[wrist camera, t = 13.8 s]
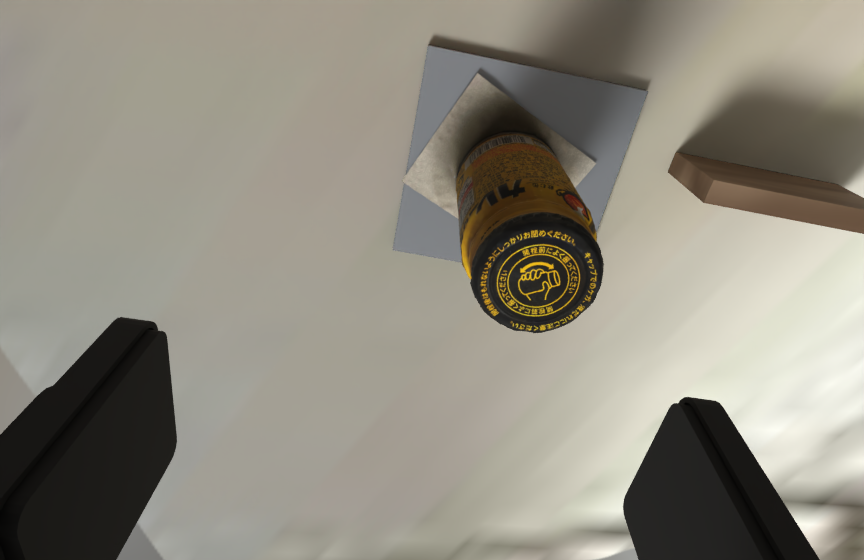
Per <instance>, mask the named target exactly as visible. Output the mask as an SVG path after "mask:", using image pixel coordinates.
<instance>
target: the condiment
mask: <svg viewBox="0 0 864 560" xmlns="http://www.w3.org/2000/svg"><path fill="white" fill-rule="evenodd" d="M595 164H596V163H595V162H594V161H593V160H591V159H590V158H589V157H587V156H586V155H585V154H583V153H582V152H581V151H579V150H578V149H577V148H576V147H574V146H573V145H572V144H570V143H569V142H568V141H566V140H565V139H564V138H563V137H561V136H560V135H559V134H557V133H556V132H555V131H553V130H552V129H551V128H549V127H548V126H547V125H545V124H544V123H543V122H541V121H540V120H539V119H538V118H536V117H535V116H533V115H532V114H531V113H529V112H528V111H527V110H525V109H524V108H523V107H522V106H520V105H519V104H518V103H516V102H515V101H514V100H512V99H511V98H510V97H509V96H507V95H506V94H504V93H503V92H502V91H500V90H499V89H498V88H496V87H495V86H494V85H492V84H491V83H490V82H488V81H487V80H486V79H485V78H483V77H482V76H481V75H479V74H478V73H477V74H476V76H475V77H474V79H473V80H472V81H471V83H470V84H469V86H468V87H467V88H466V90H465V91H464V93H463V94H462V95H461V97H460V98H459V100H458V101H457V102H456V104H455V105H454V107H453V108H452V110H451V111H450V112H449V114H448V115H447V117H446V118H445V120H444V121H443V122H442V124H441V125H440V127H439V128H438V130H437V131H436V132H435V134H434V135H433V136H432V138H431V139H430V141H429V142H428V144H427V145H426V147H425V148H424V150H423V151H422V153H421V154H420V155H419V157H418V158H417V160H416V161H415V162H414V164H413V165H412V167H411V168H410V170H409V171H408V173H407V174H406V176H405V177H404V178H403V180H402V182H403V183H405V184H406V185H408V186H409V187H411V188H412V189H414V190H415V191H417V192H418V193H420V194H422V195H423V196H425V197H426V198H427V199H428V200H430V201H432V202H433V203H435V204H437V205H438V206H439V207H441V208H442V209H444V210H445V211H447V212H449V213H450V214H451V215H453V216H455V217H456V218H458V220H459V236H460V248H461V257H462V259H461V261H462V265H463V267H464V268H465V270H466V272H467V275H468V277H469V278H470V279H471V282H470V284H471V287H472V290H473V293H474V296H475V298H476V299H477V301H478V303H479V304H480V307H482V309H483V311H484V312H485V313H486V314H487V315H489V316H490V317H491V318H492V319H494V320H496V321H497V322H498V323H500V324H502V325H504V326H506V327H507V328H510V329H512V330H516V331H528V332H533V333H542V332H546V331H550V330H554V329H556V328H559V327H562V326H564V325H566V324H568V323H570V322H572V321H573V320H574V319H576V318H577V317H578V316H579V315H580V314H581V313H582V312H583V311H585V310H586V309H587V308H588V307H589V306H590V305H591V304H592V303H593V302H594V300H595V298H596V295H597V293H598V291H599V289H600V286H601V283H602V276H603V265H604V264H603V258H602V255H601V250H600V248H599V245H598V244H597V242H596V240H597V235H596V229H595V224H594V222H593V219H592V216H591V212H590V210H589V209H588V208H587V207H586V205H585V204H584V202H583V200H582V198H581V197H580V195H579V194H578V192H577V190H576V189H575V187H576V186H577V185H578V184H579V183H580V182H581V181H582V179H583V178H584V177H585V176H586V175H587V174H588V173H589V172H590V170H591V169H592V168H593V167H594V166H595ZM454 176H455V178H454Z"/></svg>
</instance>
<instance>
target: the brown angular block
mask: <svg viewBox="0 0 864 560" xmlns="http://www.w3.org/2000/svg"><path fill="white" fill-rule="evenodd" d="M668 173H670V174H671V175H672V176H673V177H674V178H675V179H677V180H678V181H679V182H680V183H681V184H682V185H684V186H685V187H686V188H687V189H688V190H689V191H691V192H692V193H693V194H694V195H695V196H696V197H698V198H699V199H700V200H701V201H702V202H703V203H708V204H713V205H718V206H723V207H729V208H734V209H739V210H744V211H749V212H754V213H759V214H765V215H770V216H775V217H780V218H785V219H790V220H795V221H801V222H806V223H811V224H816V225H821V226H826V227H831V228H837V229H842V230H847V231H852V232H857V233H862V234H864V198H863V197H861V196H859V195H857V194H855V193H853V192H851V191H849V190H847V189H845V188H843V187H841V186H839V185H837V184H832V183H828V182H823V181H818V180H813V179H808V178H803V177H798V176H793V175H788V174H783V173H778V172H773V171H768V170H763V169H758V168H753V167H748V166H743V165H738V164H733V163H728V162H723V161H718V160H713V159H708V158H703V157H698V156H693V155H688V154H683V153H678V152H676V153H675V156H674V158H673V161H672V163H671V166H670V168H669V170H668Z"/></svg>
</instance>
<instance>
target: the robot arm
mask: <svg viewBox="0 0 864 560" xmlns="http://www.w3.org/2000/svg"><path fill="white" fill-rule="evenodd" d="M176 443H177V435H176V425H175V415H174V405H173V394H172V384H171V374H170V363H169V353H168V343H167V336H166V334H165V332H163V331H158V328H157V325H156V324H155V323H154V322H151V321H144V320H137V319H130V318H123V317H120V318H117V319H116V320H115V321H113V322H112V323H111V325H110V326H109V327H108V328H107V329H106V330H105V331H104V332H103V333H102V334H101V335H100V336H99V337H98V338H97V339H96V341H95V342H94V343H93V344H92V345H91V346H90V347H89V348H88V349H87V350H86V351H85V352H84V353H83V354H82V356H81V357H80V358H79V359H78V360H77V361H76V362H75V363H74V364H73V365H72V366H71V367H70V368H69V369H68V370H67V372H66V373H65V374H64V375H63V376H62V377H61V378H60V379H59V380H58V381H57V382H56V383H55V384H54V385H53V386H51V387H48V388H46V389H45V390H44V391H42V392H41V393H40V394H39V395H38V396H37V397H36V398H35V399H34V400H33V401H32V402H31V403H30V404H29V405H28V406H27V407H26V408H25V409H24V411H23V412H22V413H21V414H20V415H19V416H18V417H17V418H16V419H15V420H14V421H13V422H12V423H11V424H10V425H9V426H8V427H7V428H6V430H4V432H3V433H2V434H1V435H0V560H116V559H117V557H118V555H119V554H120V552H121V550H122V548H123V546H124V545H125V543H126V541H127V539H128V537H129V536H130V534H131V532H132V530H133V528H134V527H135V525H136V523H137V521H138V519H139V518H140V516H141V514H142V512H143V510H144V509H145V507H146V505H147V503H148V501H149V500H150V498H151V496H152V494H153V492H154V491H155V489H156V487H157V485H158V483H159V482H160V480H161V478H162V476H163V474H164V473H165V471H166V469H167V467H168V465H169V464H170V462H171V460H172V458H173V455H174V452H175V449H176ZM623 510H624V516H625V519H626V523H627V526H628V529H629V532H630V535H631V538H632V541H633V544H634V547H635V550H636V553H637V556H638V559H639V560H820V559H819V558H818V556H817V555H816V553H815V552H814V550H813V548H812V547H811V545H810V544H809V542H808V541H807V539H806V537H805V536H804V534H803V533H802V531H801V530H800V528H799V526H798V525H797V523H796V522H795V520H794V518H793V517H792V515H791V514H790V512H789V511H788V509H787V507H786V506H785V504H784V503H783V501H782V500H781V498H780V496H779V495H778V493H777V492H776V490H775V488H774V487H773V485H772V484H771V482H770V481H769V479H768V477H767V476H766V474H765V473H764V471H763V470H762V468H761V466H760V465H759V463H758V462H757V460H756V459H755V457H754V455H753V454H752V452H751V451H750V449H749V447H748V446H747V444H746V443H745V441H744V440H743V438H742V436H741V435H740V433H739V432H738V430H737V429H736V427H735V425H734V424H733V422H732V421H731V419H730V418H729V416H728V414H727V413H726V411H725V410H724V408H723V407H722V405H721V404H720V403H718V402H716V401H712V400H705V399H698V398H691V397H684V398H683V399H681V400H680V402H679V403H675V404H673V405H671V407H670V408H669V410H668V412H667V414H666V416H665V418H664V420H663V422H662V424H661V426H660V428H659V430H658V432H657V434H656V436H655V438H654V440H653V442H652V444H651V446H650V448H649V450H648V452H647V454H646V456H645V458H644V460H643V462H642V464H641V466H640V468H639V470H638V472H637V474H636V476H635V478H634V479H633V481H632V483H631V485H630V487H629V489H628V491H627V493H626V495H625V498H624V504H623Z"/></svg>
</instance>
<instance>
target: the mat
mask: <svg viewBox="0 0 864 560" xmlns="http://www.w3.org/2000/svg"><path fill="white" fill-rule="evenodd" d="M477 73H478V74H479V75H481V76H482V77H483V78H485V79H486V80H487V81H488V82H490V83H491V84H492V85H494V86H495V87H496V88H498V89H499V90H500V91H502V92H503V93H504V94H506V95H507V96H509V97H510V98H511V99H512V100H514V101H515V102H516V103H518V104H519V105H520V106H522V107H523V108H524V109H525V110H527V111H528V112H529V113H531V114H532V115H533V116H535V117H536V118H538V119H539V120H540V121H541V122H543V123H544V124H545V125H547V126H548V127H549V128H551V129H552V130H553V131H555V132H556V133H557V134H559V135H560V136H561V137H563V138H564V139H565V140H566V141H568V142H569V143H570V144H572V145H573V146H574V147H576V148H577V149H578V150H579V151H581V152H582V153H583V154H585V155H586V156H587V157H589V158H590V159H591V160H593V161H594V162H595V163H596V164H595V166H594V167H593V168H592V169H591V170H590V172H589V173H588V174H587V175H586V176H585V177H584V178H583V179H582V181H581V182H580V183H579V184H578V185H577V186H576V187H575V189H576V190H577V192H578V194H579V195H580V197H581V198H582V200H583V202H584V204H585V205H586V207H587V208H588V209H589V210H590V212H591V216H592V219H593V222H594V224H595V229H596V232H597V229H598V227H599V224H600V221H601V218H602V216H603V213H604V210H605V208H606V205H607V202H608V199H609V197H610V194H611V191H612V188H613V186H614V183H615V180H616V178H617V175H618V172H619V169H620V167H621V164H622V161H623V158H624V156H625V153H626V150H627V148H628V145H629V142H630V139H631V137H632V134H633V131H634V128H635V126H636V123H637V120H638V118H639V115H640V112H641V109H642V107H643V104H644V101H645V98H646V96H647V93H648V91H646V90H643V89H639V88H634V87H629V86H624V85H619V84H615V83H610V82H605V81H600V80H595V79H591V78H586V77H581V76H576V75H571V74H567V73H562V72H557V71H552V70H548V69H543V68H538V67H533V66H528V65H524V64H519V63H514V62H509V61H504V60H500V59H495V58H490V57H485V56H480V55H476V54H471V53H466V52H461V51H457V50H452V49H447V48H442V47H437V46H433V45H428V49H427V55H426V60H425V66H424V72H423V78H422V83H421V89H420V95H419V101H418V107H417V112H416V118H415V124H414V130H413V135H412V141H411V147H410V153H409V158H408V164H407V170H406V174H407V173H408V171H409V170H410V168H411V167H412V165H413V164H414V162H415V161H416V160H417V158H418V157H419V155H420V154H421V153H422V151H423V150H424V148H425V147H426V145H427V144H428V142H429V141H430V139H431V138H432V136H433V135H434V134H435V132H436V131H437V130H438V128H439V127H440V125H441V124H442V122H443V121H444V120H445V118H446V117H447V115H448V114H449V112H450V111H451V110H452V108H453V107H454V105H455V104H456V102H457V101H458V100H459V98H460V97H461V95H462V94H463V93H464V91H465V90H466V88H467V87H468V86H469V84H470V83H471V81H472V80H473V79H474V77H475V76H476V74H477ZM454 178H455V176H454ZM393 250H395V251H400V252H406V253H412V254H417V255H423V256H428V257H434V258H439V259H445V260H451V261H456V262H462V261H461V259H462V257H461V248H460V236H459V220H458V218H456V217H455V216H453V215H451V214H450V213H449V212H447V211H445V210H444V209H442V208H441V207H439V206H438V205H437V204H435V203H433V202H432V201H430V200H428V199H427V198H426V197H425V196H423V195H422V194H420V193H418V192H417V191H415V190H414V189H412V188H411V187H409V186H408V185H406V184H405V183H404V187H403V193H402V199H401V205H400V210H399V216H398V222H397V228H396V233H395V239H394V245H393Z"/></svg>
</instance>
